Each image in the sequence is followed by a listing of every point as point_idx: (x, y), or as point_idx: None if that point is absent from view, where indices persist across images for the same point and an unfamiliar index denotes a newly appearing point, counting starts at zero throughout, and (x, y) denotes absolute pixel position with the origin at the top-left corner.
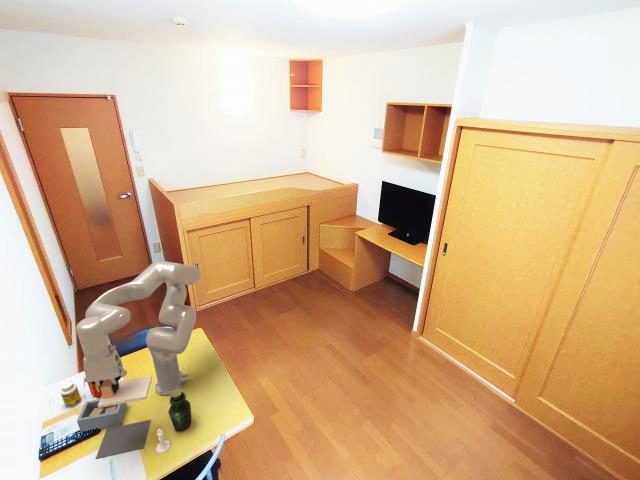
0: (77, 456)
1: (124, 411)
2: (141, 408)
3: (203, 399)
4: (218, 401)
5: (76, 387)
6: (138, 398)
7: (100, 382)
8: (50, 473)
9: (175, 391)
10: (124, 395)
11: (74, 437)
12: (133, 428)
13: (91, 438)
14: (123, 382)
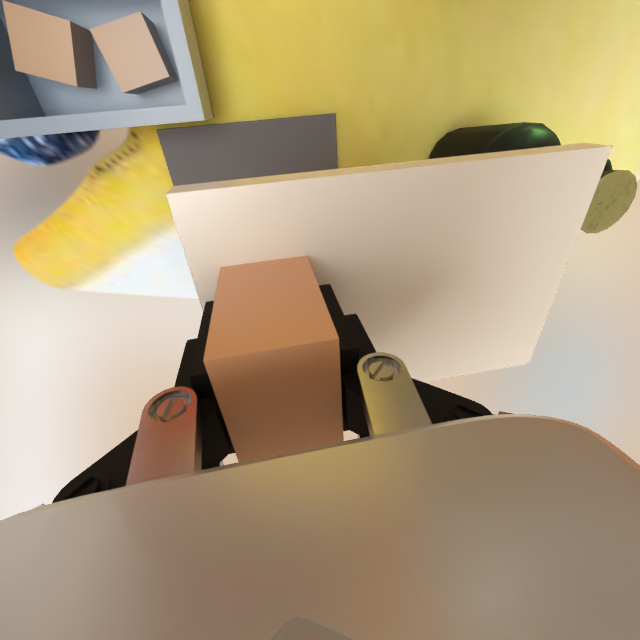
0: (120, 240)
1: (193, 34)
2: (268, 15)
3: (548, 24)
4: (598, 57)
5: None
6: (483, 367)
7: (207, 456)
8: (72, 287)
9: (604, 192)
10: (396, 353)
11: (29, 151)
12: (277, 151)
13: (117, 169)
14: (350, 212)
